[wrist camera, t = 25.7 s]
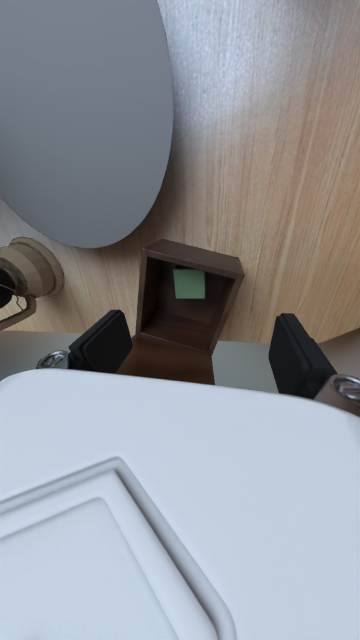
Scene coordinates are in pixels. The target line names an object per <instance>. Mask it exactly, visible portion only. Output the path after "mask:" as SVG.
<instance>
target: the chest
mask: <svg viewBox="0 0 360 640" xmlns="http://www.w3.org/2000/svg"><path fill="white" fill-rule="evenodd" d="M177 264H178V265H182V266H186V267H190V268H194V269H198V270H201V271H205V272H207V290H206V295H205V299H193V298H176V293H175V284H174V274H173V269H174V268H175V267H176V266H177ZM244 276H245V274H244V272H243V269H242V266H241V263H240V261H239V258H237V257H233V256H229V255H225V254H221V253H217V252H213V251H209V250H205V249H201V248H197V247H193V246H189V245H185V244H181V243H177V242H173V241H169V240H165V239H161V240H158V241H156V242H154V243H152V244H150V245H148V246H146V247H144V248H142V251H141V265H140V279H139V293H138V306H137V320H136V334H135V335H136V336H140V337H143V338H146V339H150V340H153V341H157V342H160V343H164V344H167V345H171V346H174V347H178V348H181V349H185V350H188V351H192V352H195V353H199V354H202V355H206V356H209V357H211V356H212V354H213V351H214V349H215V346H216V344H217V341H218V339H219V336H220V334H221V332H222V329H223V327H224V324H225V322H226V319H227V317H228V315H229V312H230V310H231V307H232V305H233V302H234V300H235V298H236V295H237V293H238V290H239V288H240V285H241V283H242V280H243V278H244Z"/></svg>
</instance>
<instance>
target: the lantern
mask: <svg viewBox="0 0 360 640" xmlns="http://www.w3.org/2000/svg"><path fill="white" fill-rule="evenodd" d="M63 286H64V274H63V271H62V269H61V266H60V264H59V262H58V261H57V259H56V258H55V256H54V255H53V254H52V252H51V251H49V250H48V249H47V248H46V247H45V246H44V245H43V244H41V243H40V242H38V241H36V240H34V239H32V238H28V237H18V238H15V239H13V240H12V241H11V242H10V244H9V245H8V246H4V247H0V308H2V307H4V306H5V305H6V304H8V303H9V302H10V300H11V299H12V295H15V296H16V297H17V296H20V297H24V298H25V300H26V302H27V307H26V309H24V310H23V309H22V308H21V307H20V306H19V304H18V303H17V302H18V300H17V302H16V303H17V305H18V306H19V307H20V308H21V309H22V311H21V312H19V313H16V314H14V315H12V316H10V317H8V318H6V319H3V320H1V321H0V331H1V330H3V329H5V328H8V327H10V326H12V325H14V324H16V323H18V322H20V321H22V320H24V319H26V318H27V317H29V316H31V315H32V314H34V313H35V311H36V306H37V305H36V300H35V298H38V297H40V296H42V295H43V296H54V295H57V294H58V293H59V292H61V291H62V289H63ZM17 299H18V297H17Z"/></svg>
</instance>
